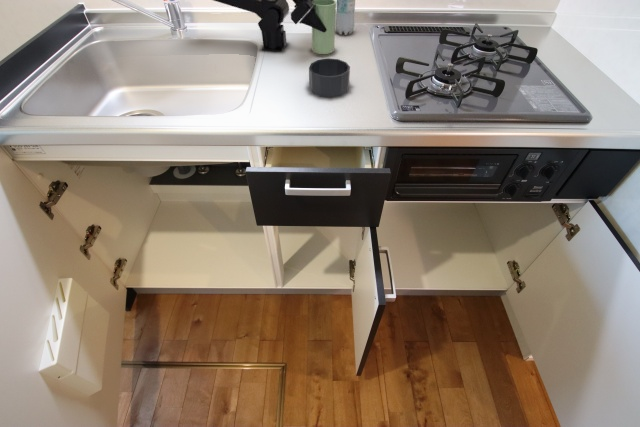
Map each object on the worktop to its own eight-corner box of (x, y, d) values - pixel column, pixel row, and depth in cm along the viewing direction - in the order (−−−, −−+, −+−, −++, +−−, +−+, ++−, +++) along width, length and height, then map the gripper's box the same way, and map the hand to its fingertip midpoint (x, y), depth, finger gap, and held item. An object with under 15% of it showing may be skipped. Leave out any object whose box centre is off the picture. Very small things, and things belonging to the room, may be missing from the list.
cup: (319, 55, 101) (320, 7, 91) (308, 47, 105) (307, 0, 95) (338, 50, 104) (340, 3, 94) (326, 43, 107) (327, -4, 98)
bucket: (306, 95, 87) (305, 74, 83) (314, 77, 94) (314, 57, 89) (345, 99, 86) (346, 78, 81) (350, 80, 92) (352, 60, 88)
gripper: (300, -36, 81) (343, 18, 88) (316, -53, 93) (353, -4, 100) (272, -1, 88) (314, 46, 95) (291, -21, 100) (326, 22, 107)
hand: (328, 26), depth 99 cm, fingers closed on cup, 7 cm apart
